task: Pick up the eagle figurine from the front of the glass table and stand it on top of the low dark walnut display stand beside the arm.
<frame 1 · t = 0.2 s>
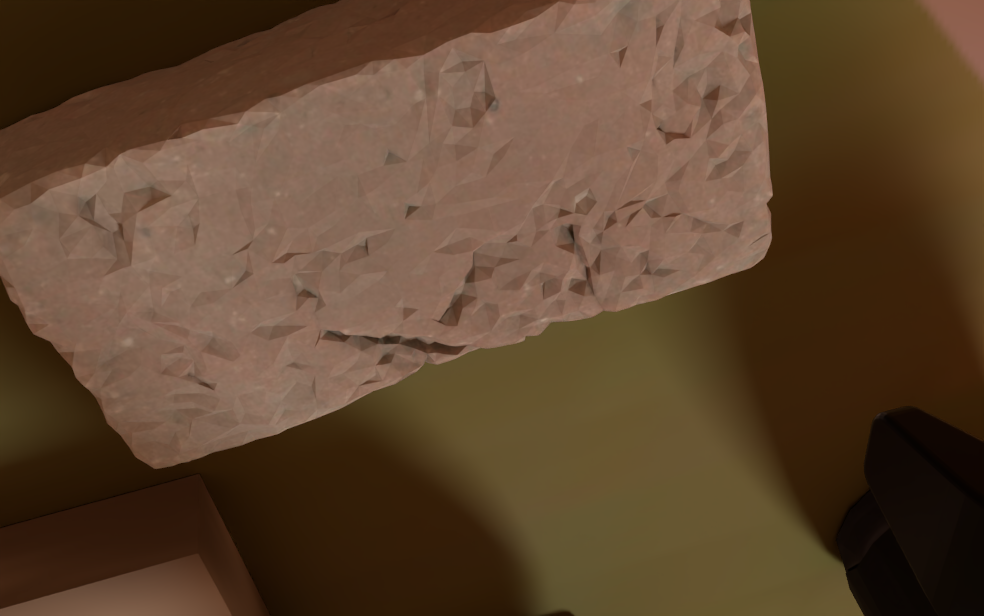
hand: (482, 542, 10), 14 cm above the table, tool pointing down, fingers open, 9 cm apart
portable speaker: (915, 511, 38), on the table
brick: (381, 149, 23), on the table
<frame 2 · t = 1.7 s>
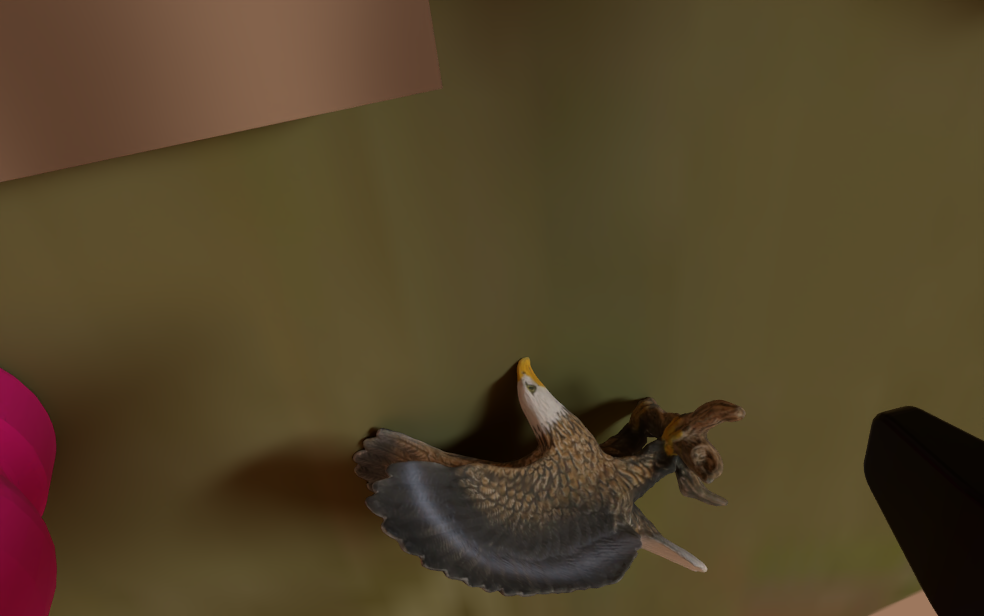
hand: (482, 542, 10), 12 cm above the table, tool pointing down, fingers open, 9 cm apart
eagle figurine: (515, 411, 27), on the table
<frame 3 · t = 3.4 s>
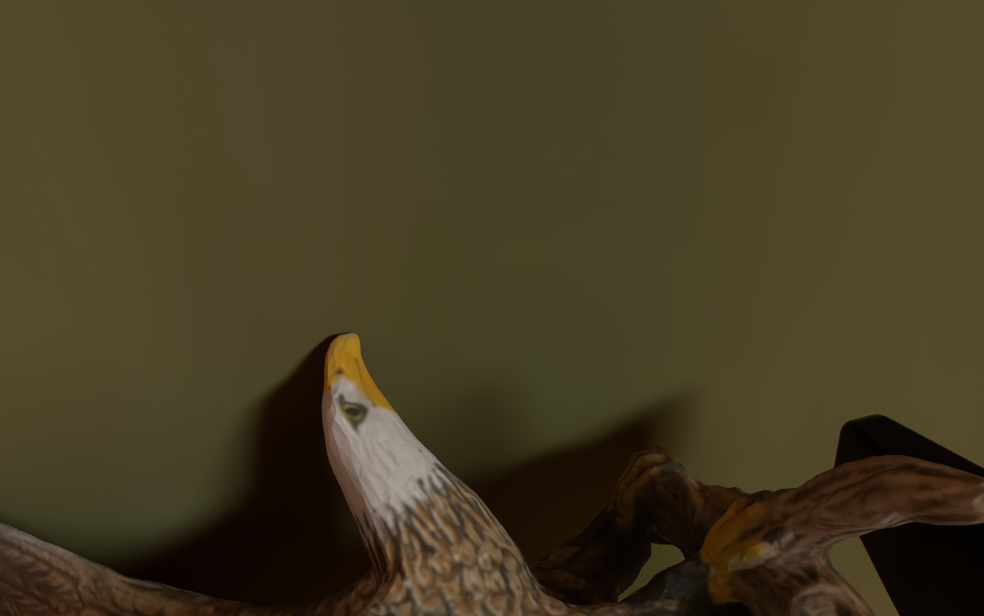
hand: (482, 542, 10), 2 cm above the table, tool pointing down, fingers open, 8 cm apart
eagle figurine: (338, 472, 11), on the table, touching gripper
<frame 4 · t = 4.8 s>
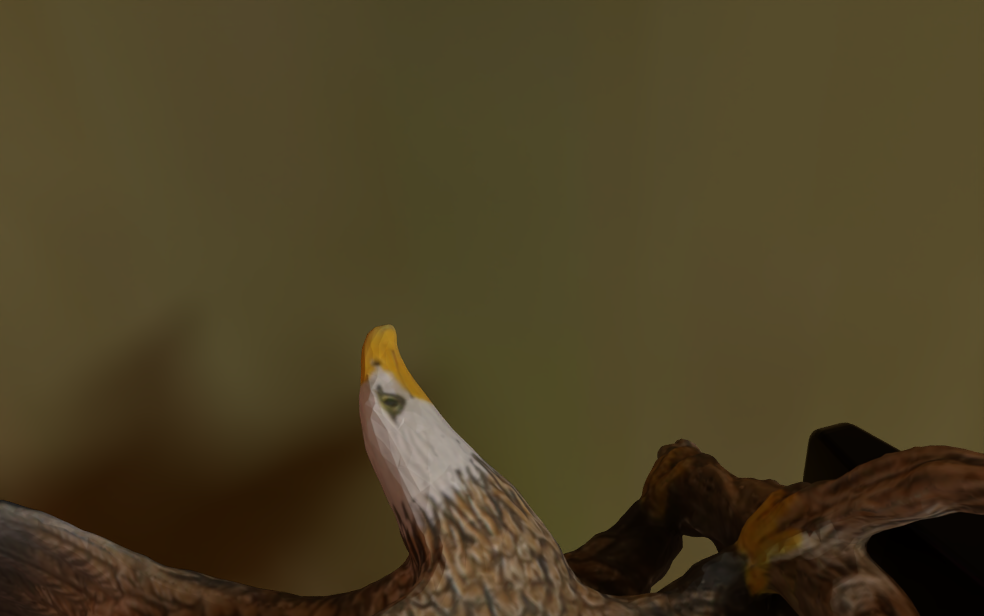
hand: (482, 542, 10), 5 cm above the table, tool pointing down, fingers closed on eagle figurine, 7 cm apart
eagle figurine: (370, 464, 11), point 3 cm above the table, touching gripper
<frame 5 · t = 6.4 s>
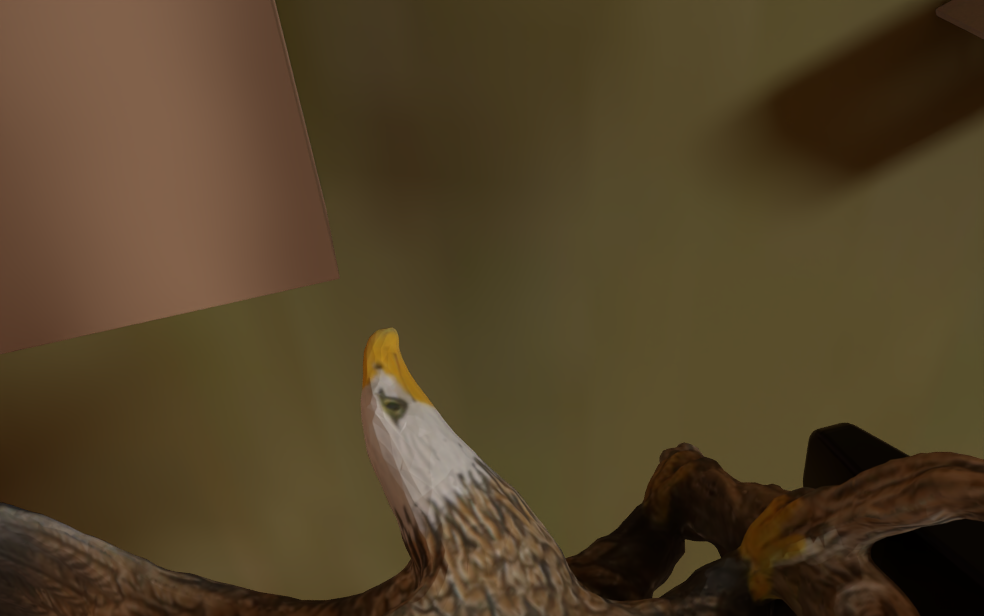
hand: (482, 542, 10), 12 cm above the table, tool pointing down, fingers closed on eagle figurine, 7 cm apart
eagle figurine: (371, 467, 11), point 11 cm above the table, touching gripper
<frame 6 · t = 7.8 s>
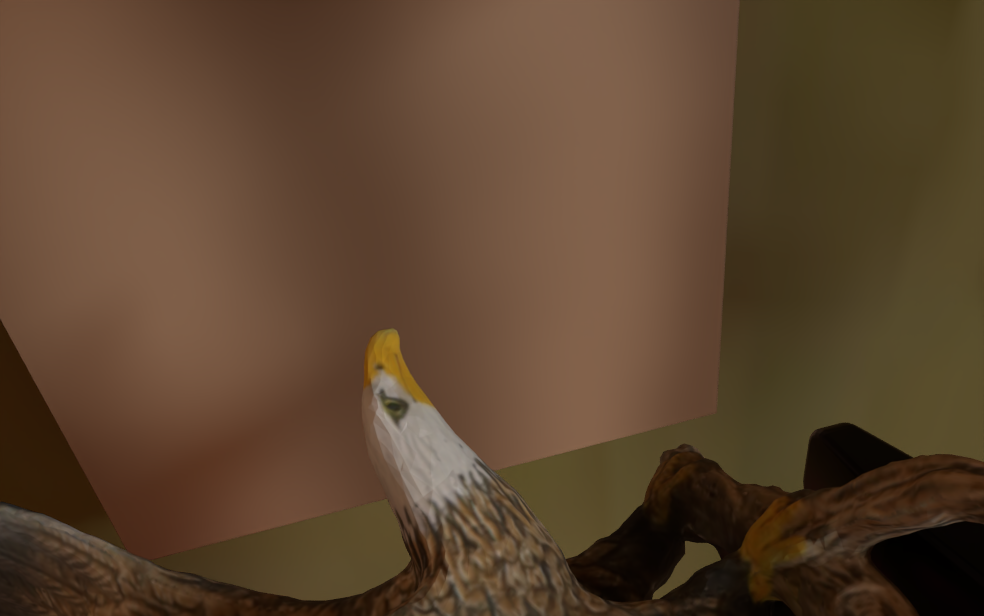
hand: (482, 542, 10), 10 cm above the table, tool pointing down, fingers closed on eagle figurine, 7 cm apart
eagle figurine: (372, 467, 11), point 8 cm above the table, touching gripper
plinth: (361, 153, 17), on the table
when the fingers open (6 cm above the table, at t = 9.2 s): eagle figurine drops 1 cm, resting on plinth.
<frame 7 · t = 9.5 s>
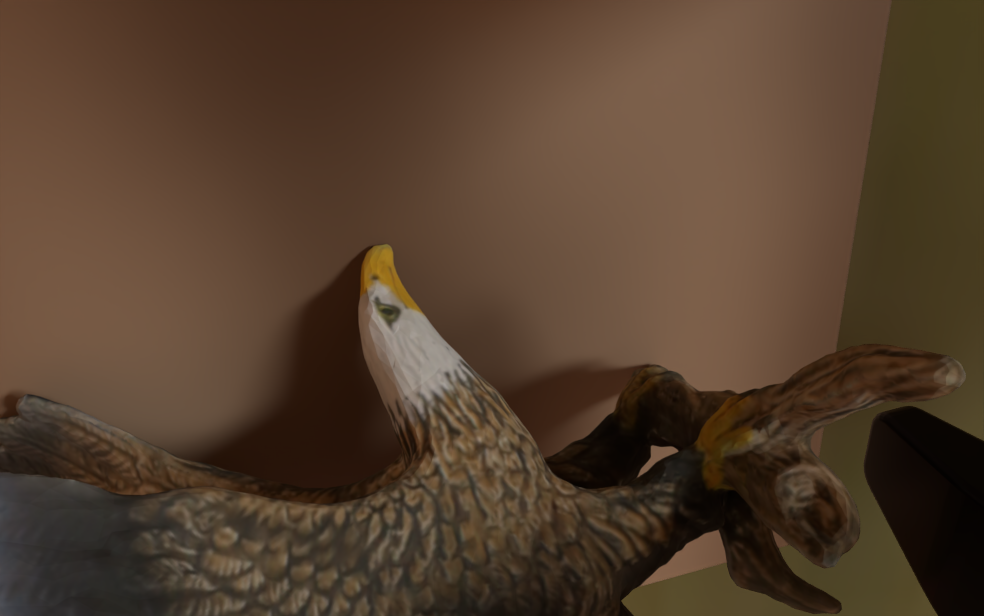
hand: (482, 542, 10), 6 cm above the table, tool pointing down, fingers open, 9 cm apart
eagle figurine: (366, 378, 12), point 3 cm above the table, touching plinth
plinth: (392, 247, 14), on the table
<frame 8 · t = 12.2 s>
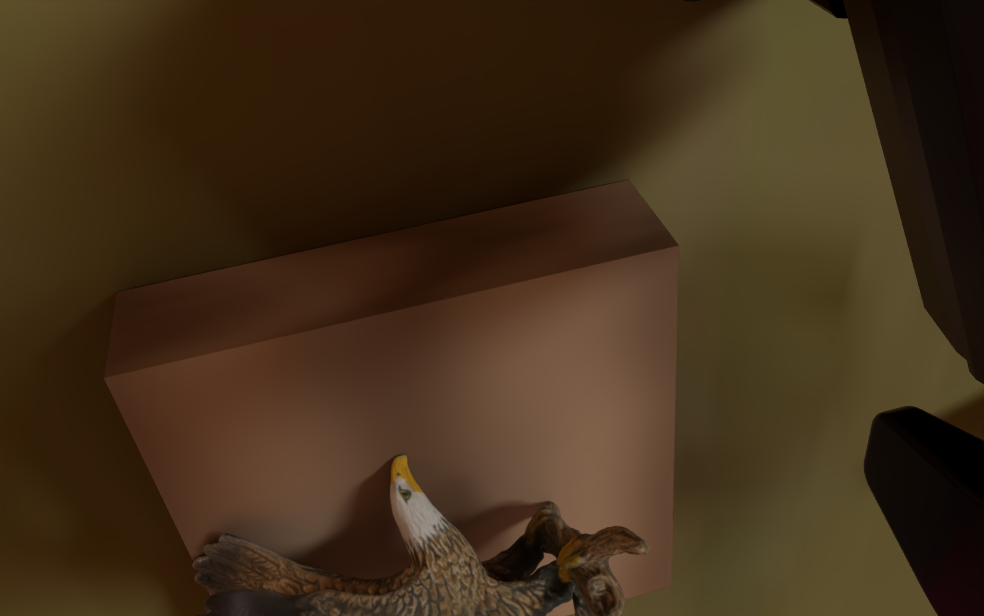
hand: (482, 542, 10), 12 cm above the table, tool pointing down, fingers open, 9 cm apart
eagle figurine: (392, 514, 23), point 3 cm above the table, touching plinth
plinth: (421, 420, 25), on the table
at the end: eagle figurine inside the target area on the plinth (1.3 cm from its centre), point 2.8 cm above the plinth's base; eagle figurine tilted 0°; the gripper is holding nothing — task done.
